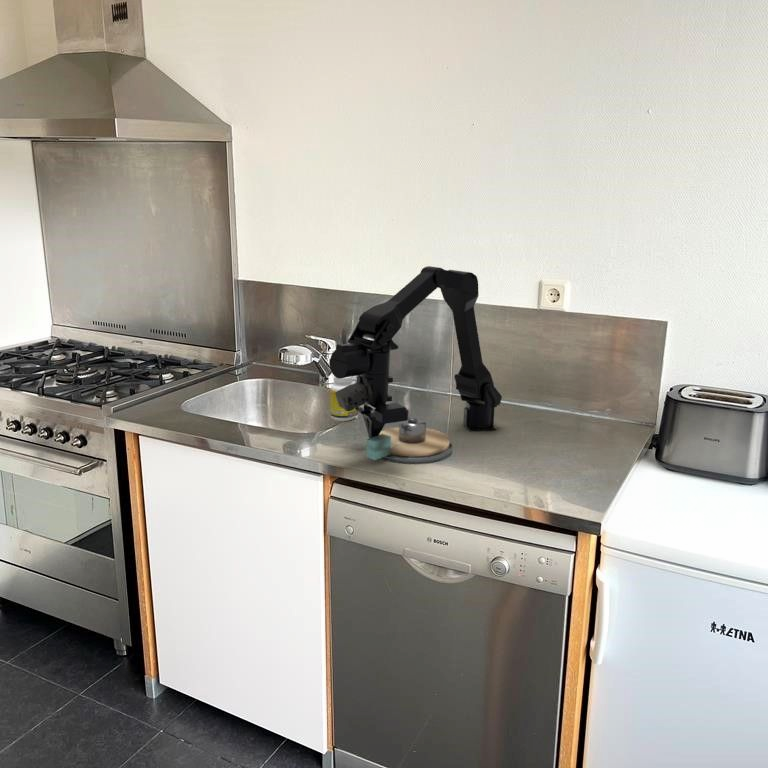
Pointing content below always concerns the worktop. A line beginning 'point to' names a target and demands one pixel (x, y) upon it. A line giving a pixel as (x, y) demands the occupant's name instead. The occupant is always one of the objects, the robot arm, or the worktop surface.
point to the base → (419, 458)
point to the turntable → (406, 444)
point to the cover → (412, 430)
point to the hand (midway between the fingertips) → (372, 441)
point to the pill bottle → (337, 411)
